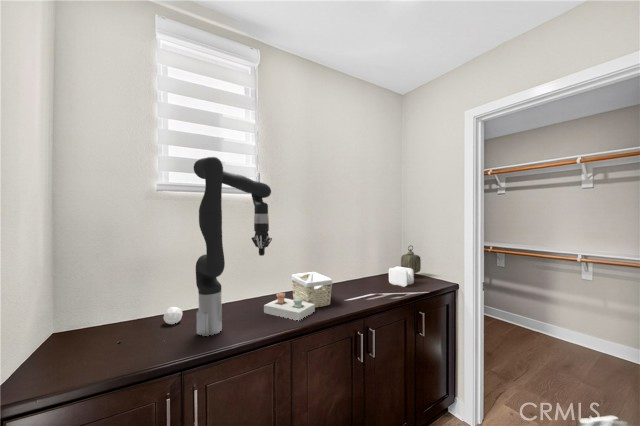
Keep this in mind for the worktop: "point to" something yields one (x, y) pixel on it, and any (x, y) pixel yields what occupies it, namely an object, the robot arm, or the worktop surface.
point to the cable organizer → (401, 276)
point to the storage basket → (312, 288)
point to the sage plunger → (298, 303)
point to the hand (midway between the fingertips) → (261, 255)
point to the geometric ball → (173, 315)
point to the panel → (289, 309)
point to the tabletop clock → (411, 261)
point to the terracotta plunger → (280, 298)
